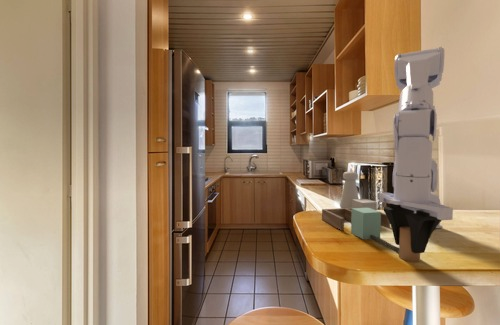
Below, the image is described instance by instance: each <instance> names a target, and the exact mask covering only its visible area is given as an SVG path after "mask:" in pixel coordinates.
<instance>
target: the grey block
mask: <svg viewBox="0 0 500 325" xmlns="http://www.w3.org/2000/svg"><path fill="white" fill-rule="evenodd" d="M377 206H378V202H377V201H375V200H371V199H369V198H359V199H352V208H371V209H374V210H377V208H378V207H377ZM377 211H378V210H377Z"/></svg>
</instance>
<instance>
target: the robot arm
mask: <svg viewBox="0 0 500 325" xmlns="http://www.w3.org/2000/svg"><path fill="white" fill-rule="evenodd" d="M444 67H445V48H443V47H442V46H438V47H436V48H431V49H430V48H429V49H425V50H424V49H423V50H418V51H417V50H416V51H410V52H406V53H397V54H396V55H395V57H394V79H395V84H396V86H397V89H398V90H400V91H401V92H400V94H399V102H398V109H397V113H394V115H393V120H392V136H393V141H394V144H393V145H394V146H393V150H394V151H395V153H394V156H395V157H394V162H393V169H392V170H393V171H392V179H391V180H392V187H393V193H391V192H379V203H382V204H383V203H386V204H389V206H384V207H383V213H384V214H386V215H387V217H388V219H389V222H390V228H391V230H392V234H393V239H394V242H395V245H397V246H399V237H400V227H402V226H408V227H410V233H411V249H412V252H413V253H420V254H423V253H425V251H426V248H427V245H428V243H429V240H430V238H431V237H432V234H433V232H434V231H435V229H443V225H440V224H441V222H442V221H452V220H453V216H454V215H453V214H454V208H453V207H450V206H446V205H443V204H441V200H440V197H439V196H438V195H437V194H436V193H435V192H436V191H437V189H438V180H439V179H438V178H439V176H438V175H439V174H438V173H439V172H438V163H437V161H436V160H435V159H434V158H433V142H434V141H435V139H436V135H437V122H438V121H437V119H438V117H437V116H438V115H437V110H436V108H435V105H434V91H433V89H434V88H436V87H438V86H440V82H441V81H442V79H443V78H442V77H443V73H444ZM430 135H431V137H432V141H431V140H430Z"/></svg>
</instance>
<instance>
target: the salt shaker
mask: <svg viewBox="0 0 500 325" xmlns="http://www.w3.org/2000/svg"><path fill="white" fill-rule="evenodd" d="M358 177H359V175H358V173H357V172H356V171H345V172H343V174H342V179H344V183H343V188H342V193H341V198H340V202H339V206H340V208H352V199H360V198H359V192H358V186H357V180H358V179H359V178H358Z"/></svg>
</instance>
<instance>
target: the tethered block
mask: <svg viewBox="0 0 500 325" xmlns="http://www.w3.org/2000/svg"><path fill="white" fill-rule="evenodd" d="M381 213H382V212H381V211H379V210H374V209H371V208H352V214H351V222H350V224H351V225H350V234H352V235H354V236H356V237H358V238H359V237H360V238H359V239H361V240H370V239H371V240H375V241H376V242H378V243H381V244H383V245H384V246H385V247H388V248H390V249H392V250H394V251H395V252H398V258H400V259H401V260H404V261H407V262H411V263H417V262H420V261H421V253H413V252H412V249H411V233H410V227H408V226H402V227H400V237H399V245H398V246H396V245H393V244H391V243H389V242H387V241H385V240H383V239H381V226H382V225H381Z"/></svg>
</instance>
